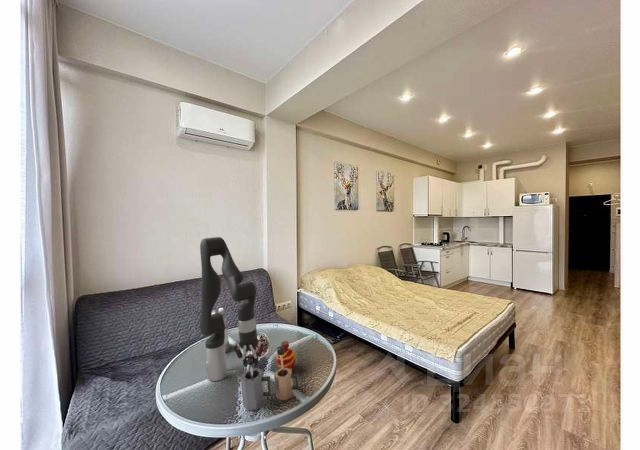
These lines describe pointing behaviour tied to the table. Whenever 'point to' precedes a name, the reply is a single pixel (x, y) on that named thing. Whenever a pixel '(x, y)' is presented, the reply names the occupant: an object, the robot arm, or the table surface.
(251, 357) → the steel press plunger
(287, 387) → the tan handled cylinder
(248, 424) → the table surface
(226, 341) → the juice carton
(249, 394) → the steel press carafe
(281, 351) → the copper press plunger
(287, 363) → the potion bottle
